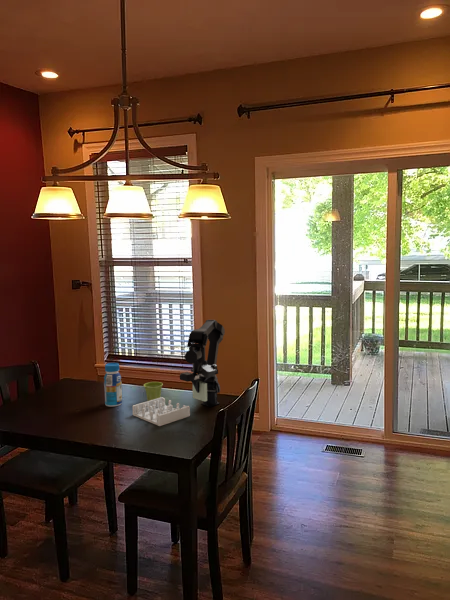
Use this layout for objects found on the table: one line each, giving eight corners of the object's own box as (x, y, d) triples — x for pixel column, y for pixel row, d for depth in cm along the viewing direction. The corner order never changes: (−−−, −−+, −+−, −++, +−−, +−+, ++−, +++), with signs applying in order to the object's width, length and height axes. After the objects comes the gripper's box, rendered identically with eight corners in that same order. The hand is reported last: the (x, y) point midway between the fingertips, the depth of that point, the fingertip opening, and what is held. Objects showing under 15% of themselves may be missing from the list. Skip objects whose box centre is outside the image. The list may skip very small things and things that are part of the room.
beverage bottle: (102, 403, 234) (100, 364, 232) (118, 400, 239) (116, 361, 237) (109, 408, 227) (107, 367, 225) (125, 404, 232) (123, 364, 230)
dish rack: (162, 406, 229) (162, 397, 229) (189, 415, 215) (189, 406, 215) (132, 415, 217) (132, 405, 217) (159, 426, 203) (159, 415, 203)
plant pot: (150, 405, 230) (149, 388, 229) (140, 401, 237) (140, 384, 236) (167, 401, 236) (166, 384, 235) (156, 397, 243) (156, 380, 242)
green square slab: (195, 397, 219) (195, 380, 218) (207, 400, 214) (206, 383, 213) (192, 397, 218) (192, 380, 217) (204, 401, 212) (204, 384, 212)
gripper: (195, 364, 202) (196, 400, 203) (226, 357, 215) (226, 391, 216) (178, 360, 210) (179, 395, 211) (209, 353, 223) (210, 386, 224)
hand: (199, 392), depth 216 cm, fingers closed on green square slab, 2 cm apart
